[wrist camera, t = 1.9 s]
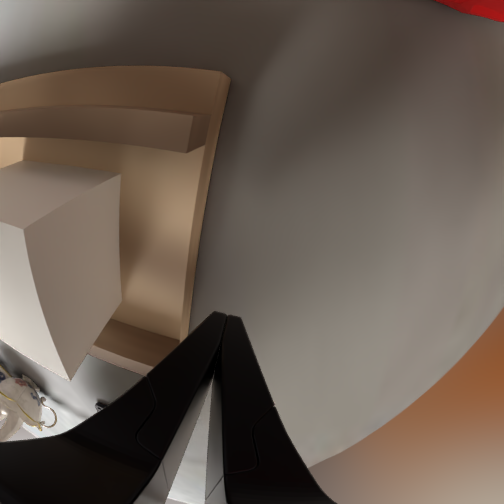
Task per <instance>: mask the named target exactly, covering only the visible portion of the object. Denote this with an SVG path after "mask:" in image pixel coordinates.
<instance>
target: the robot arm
mask: <svg viewBox="0 0 504 504" xmlns="http://www.w3.org/2000/svg"><path fill="white" fill-rule="evenodd" d="M225 323H226V324H225ZM224 327H225V328H224ZM222 336H223V337H222ZM221 340H222V341H221ZM219 349H220V350H219ZM217 358H218V359H217ZM216 362H217V363H216ZM214 371H215V372H214ZM213 375H214V377H213ZM212 379H213V383H212V394H211V407H210V421H209V436H208V452H207V470H206V490H205V500H206V501H205V504H337V503H336V502H334V501H333V500H332V499H331V498H329V497H328V496H327V495H326V494H325V493H324V492H323V490H322V489H321V488H320V486H319V485H318V484H317V482H316V481H315V479H314V477H313V476H312V474H311V473H310V471H309V470H308V468H307V466H306V465H305V463H304V461H303V460H302V458H301V457H300V455H299V453H298V452H297V450H296V448H295V447H294V445H293V443H292V441H291V439H290V438H289V436H288V434H287V432H286V430H285V428H284V425H283V423H282V421H281V419H280V416H279V414H278V411H277V409H276V407H274V405H275V404H274V402H273V399H272V397H271V394H270V392H269V389H268V387H267V384H266V382H265V379H264V377H263V374H262V371H261V369H260V366H259V364H258V361H257V358H256V356H255V353H254V350H253V348H252V345H251V342H250V340H249V337H248V334H247V332H246V329H245V326H244V324H243V321H242V319H241V317H238V316H234V315H228V316H227V314H225V313H221V312H217V311H214V312H213V313H211V314H210V315H209V316H208V317H207V318H206V319H205V320H204V321H203V322H202V323H201V324H200V325H199V326H198V327H197V328H196V329H194V330H193V331H192V332H191V333H190V334H189V335H188V336H187V337H186V338H185V339H184V340H183V341H182V342H181V343H180V344H178V345H177V346H176V347H175V348H174V349H173V350H172V351H171V352H170V353H169V354H168V355H167V356H166V357H164V358H163V359H162V360H161V361H160V362H159V363H158V364H157V365H156V366H155V367H154V368H153V369H151V370H150V371H149V372H148V373H147V374H146V376H144V377H143V378H142V379H140V380H139V381H138V382H137V383H136V384H135V385H134V386H133V387H131V388H130V389H129V390H128V391H127V392H125V393H124V394H123V395H122V396H120V397H119V398H118V399H116V400H115V401H113V402H112V403H111V404H109V405H108V406H105V405H103V404H100V403H96V405H95V407H96V409H97V411H98V412H97V413H96V414H94V415H93V416H91V417H90V418H88V419H86V420H85V421H83V422H82V423H80V424H79V425H77V426H75V427H74V428H72V429H70V430H68V431H66V432H64V433H61V434H58V435H55V436H50V437H43V438H36V439H28V440H18V441H6V442H0V504H165V502H166V499H167V497H168V494H169V491H170V489H171V486H172V484H173V481H174V479H175V476H176V474H177V471H178V468H179V466H180V463H181V461H182V458H183V456H184V453H185V450H186V448H187V445H188V443H189V440H190V437H191V435H192V432H193V430H194V427H195V425H196V422H197V419H198V417H199V414H200V411H201V409H202V406H203V404H204V401H205V398H206V396H207V393H208V390H209V388H210V385H211V382H212Z"/></svg>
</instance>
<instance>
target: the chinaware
mask: <svg viewBox="0 0 504 504" xmlns="http://www.w3.org/2000/svg"><path fill="white" fill-rule="evenodd" d="M22 375H23V374H22ZM39 389H40V388H38V386H37V385H36V384H35V383H34V382H33V381H32V380H31V379H29V378H28V377H26V376H24V375H23V377H22V379H20V378H15V377H12V376H11V375H10V374H9V373H8V372H7V371H6V370H5V369H4V368H3V367H2V366H1V365H0V421H1V420H3V419H4V418H6V417H7V418H6V421H5V423H4V425H3V426H2V428H1V429H0V442H6V441H7V440H8V439H9V438H10V437H12V436H13V435H14V434H15V433H16V432H17V431H18V430H19V429H20V428H21V426H22V424H23V422H25V423H26V424H28V425H30V426H36V427H37V428H38V429H39V430H40V431H42V427H41V425H42V426H44V427H46V428H51V427H53V426H54V425H55V424H56V422H57V416H56V413H55V412H54V410H53V409H51V408H49V407H47V406H45V405H44V404H43V402H44V401H46V399H45V398H44V397H41V398H39V395H38V393H37V392H39ZM36 391H37V392H36ZM42 405H43V406H44V407H46V408H48V409H50V410H51V411H52V412H53V413H54V415H55V422H54V424H53V425H51V426H45V425H43V424H45V421H42V422H43V424H42V422H40V420H41V415H42ZM40 424H41V425H40Z"/></svg>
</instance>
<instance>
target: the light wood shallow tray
mask: <svg viewBox="0 0 504 504" xmlns="http://www.w3.org/2000/svg"><path fill="white" fill-rule="evenodd" d="M230 82H231V79H230V78H229V77H228V76H226V75H225V74H224V73H222V72H221V71H213V70H205V69H196V68H184V67H170V66H104V67H90V68H79V69H71V70H63V71H56V72H50V73H44V74H38V75H33V76H28V77H24V78H19V79H15V80H11V81H7V82H4V83H0V169H1V168H4V167H6V166H9V165H11V164H14V163H16V162H19V161H22V160H26V161H35V162H44V163H53V164H61V165H68V166H76V167H83V168H89V169H96V170H103V171H109V172H115V173H121V184H120V207H119V255H120V278H121V293H122V302H121V303H120V305H119V306H118V307H117V309H116V310H115V312H114V313H113V315H112V316H111V318H110V319H109V321H108V322H107V324H106V325H105V327H104V328H103V330H102V331H101V333H100V334H99V336H98V337H97V339H96V341H95V342H94V344H93V345H92V347H91V348H90V350H89V352H88V353H87V354H89V355H91V356H94V357H96V358H98V359H101V360H103V361H106V362H108V363H111V364H113V365H116V366H119V367H121V368H124V369H127V370H129V371H132V372H135V373H138V374H141V375H144V376H146V374H147V373H148V372H149V371H150V370H151V369H153V368H154V367H155V366H156V365H157V364H158V363H159V362H160V361H161V360H162V359H163V358H164V357H166V356H167V355H168V354H169V353H170V352H171V351H172V350H173V349H174V348H175V347H176V346H177V345H178V344H180V343H181V342H182V341H183V340H184V339H185V338H186V337H187V336H188V330H189V320H190V311H191V302H192V294H193V286H194V278H195V271H196V263H197V256H198V249H199V242H200V236H201V229H202V223H203V217H204V211H205V205H206V199H207V193H208V187H209V182H210V176H211V171H212V166H213V160H214V155H215V150H216V145H217V140H218V135H219V131H220V126H221V121H222V117H223V112H224V107H225V103H226V99H227V94H228V90H229V86H230Z"/></svg>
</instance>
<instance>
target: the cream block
mask: <svg viewBox="0 0 504 504" xmlns="http://www.w3.org/2000/svg"><path fill="white" fill-rule="evenodd" d="M120 184H121V173H115V172H109V171H103V170H96V169H89V168H83V167H76V166H68V165H61V164H53V163H44V162H35V161H26V160H22V161H19V162H16V163H14V164H11V165H9V166H6V167H4V168H1V169H0V339H1V340H2V341H3V342H5V343H6V344H8V345H9V346H11V347H12V348H14V349H15V350H17V351H18V352H20V353H21V354H23V355H24V356H26V357H27V358H29V359H31V360H32V361H34V362H36V363H37V364H39V365H41V366H42V367H44V368H46V369H48V370H50V371H51V372H53V373H55V374H57V375H59V376H61V377H63V378H64V379H66V380H68V381H71V380H72V378H73V376H74V375H75V373H76V371H77V370H78V368H79V366H80V365H81V363H82V361H83V360H84V358H85V356H86V355H87V353H88V352H89V350H90V348H91V347H92V345H93V344H94V342H95V341H96V339H97V337H98V336H99V334H100V333H101V331H102V330H103V328H104V327H105V325H106V324H107V322H108V321H109V319H110V318H111V316H112V315H113V313H114V312H115V310H116V309H117V307H118V306H119V305H120V303H121V302H122V293H121V278H120V255H119V207H120Z"/></svg>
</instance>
